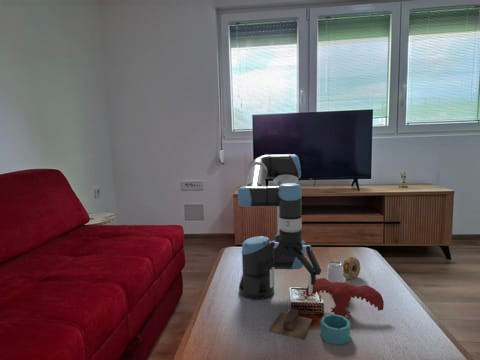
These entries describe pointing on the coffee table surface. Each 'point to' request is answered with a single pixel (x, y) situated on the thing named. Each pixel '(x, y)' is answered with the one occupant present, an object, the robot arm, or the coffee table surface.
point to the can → (335, 272)
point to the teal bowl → (335, 329)
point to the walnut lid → (291, 324)
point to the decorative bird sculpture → (347, 294)
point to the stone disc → (351, 268)
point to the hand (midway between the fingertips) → (290, 289)
